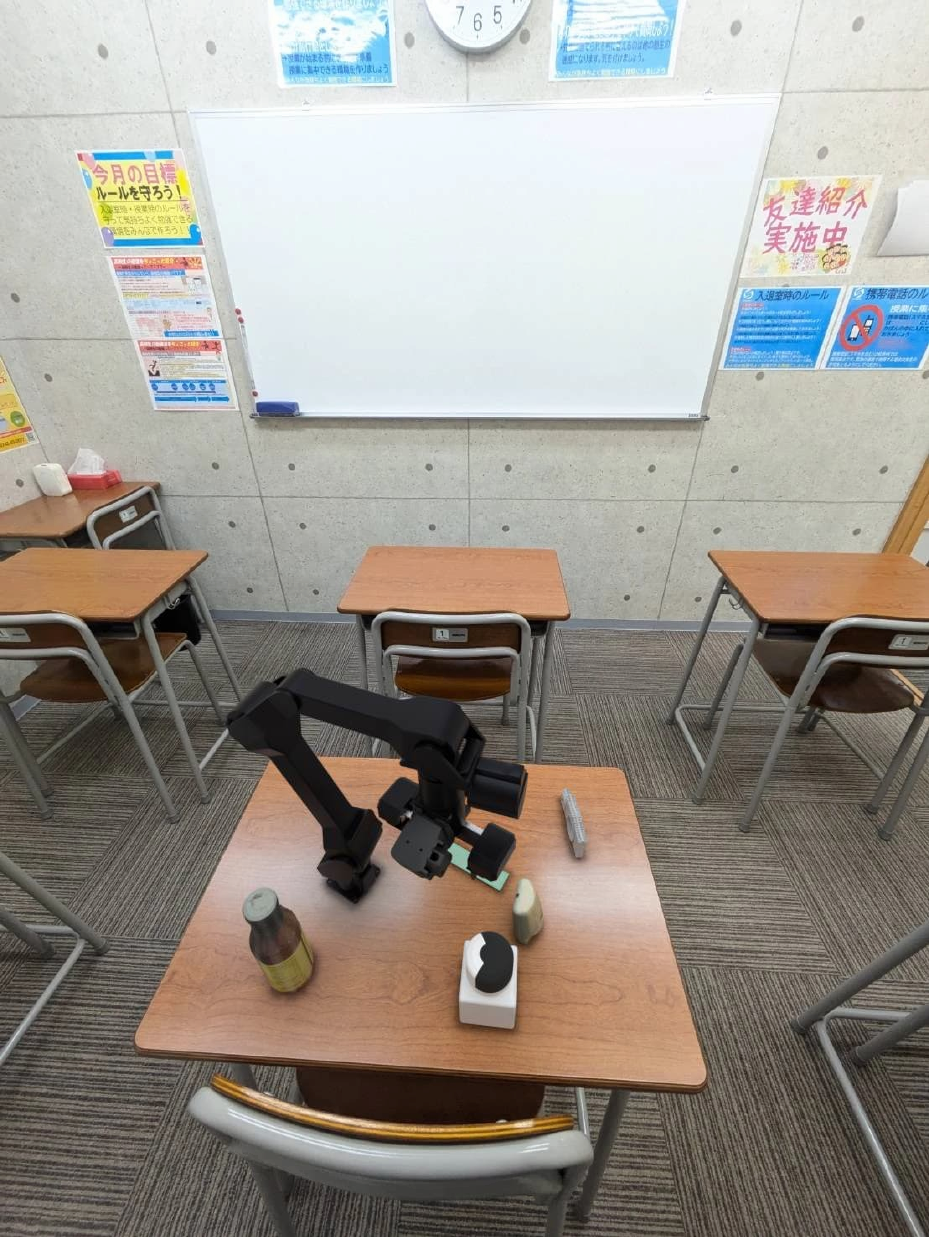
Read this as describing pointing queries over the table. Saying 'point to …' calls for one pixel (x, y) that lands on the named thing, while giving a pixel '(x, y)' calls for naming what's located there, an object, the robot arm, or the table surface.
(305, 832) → the table surface
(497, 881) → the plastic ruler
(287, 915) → the sauce bottle
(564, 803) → the garden wall model
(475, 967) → the security camera
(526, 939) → the beige rounded chunk
